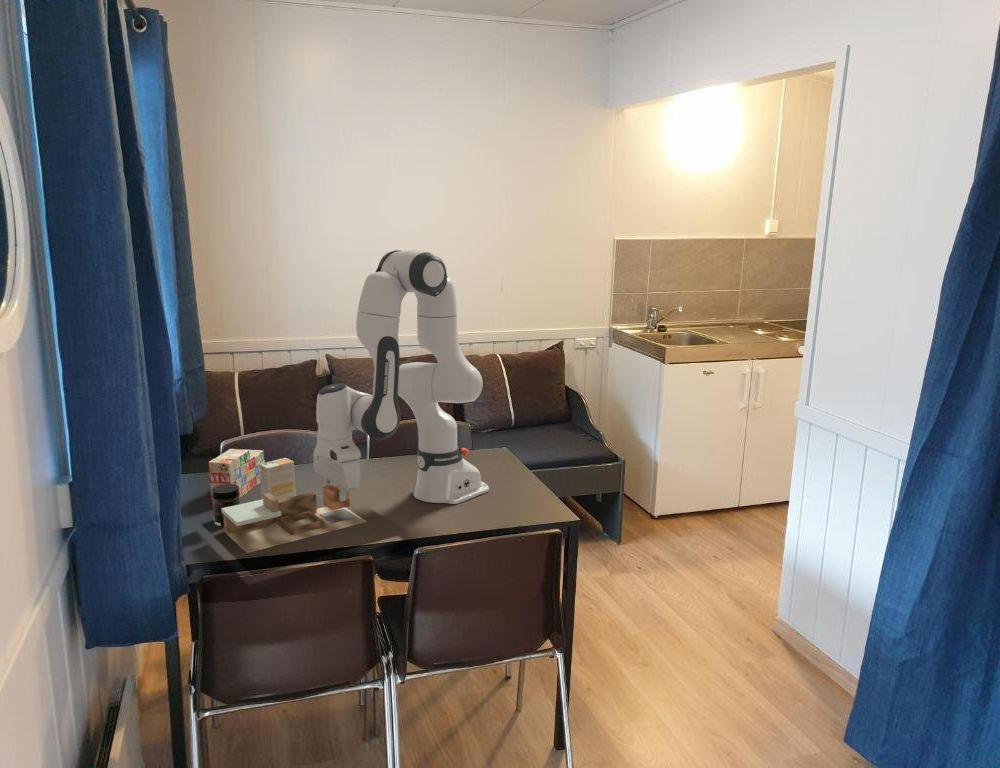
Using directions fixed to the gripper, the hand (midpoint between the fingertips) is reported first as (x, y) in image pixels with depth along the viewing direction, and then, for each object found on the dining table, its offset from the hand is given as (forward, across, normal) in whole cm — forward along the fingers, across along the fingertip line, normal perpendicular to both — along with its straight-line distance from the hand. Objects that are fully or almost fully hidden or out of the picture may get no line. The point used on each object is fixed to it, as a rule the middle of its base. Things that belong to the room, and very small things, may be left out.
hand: (336, 496), depth 206 cm
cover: (0, -2, -22) cm, 22 cm away
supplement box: (+7, -19, -8) cm, 22 cm away
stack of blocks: (+7, -38, -12) cm, 41 cm away
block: (+2, 0, 0) cm, 2 cm away
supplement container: (+7, -14, -24) cm, 29 cm away
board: (+7, 0, -11) cm, 13 cm away
